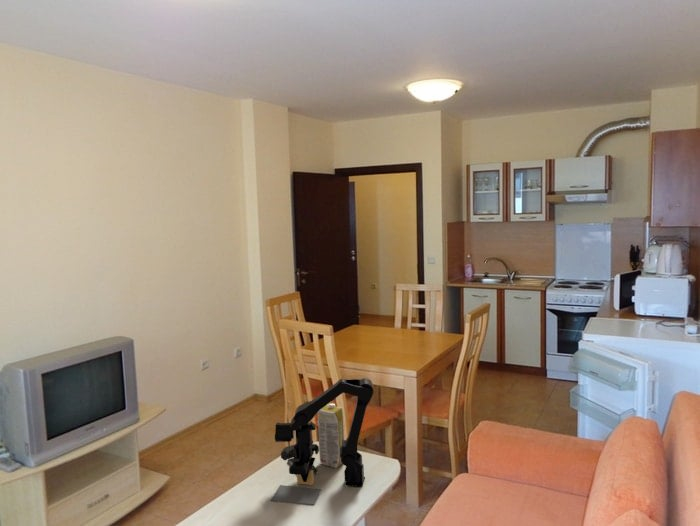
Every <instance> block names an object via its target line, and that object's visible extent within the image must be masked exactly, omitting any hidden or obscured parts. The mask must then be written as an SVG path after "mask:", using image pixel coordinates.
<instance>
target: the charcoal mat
mask: <svg viewBox="0 0 700 526" xmlns="http://www.w3.org/2000/svg"><path fill="white" fill-rule="evenodd" d="M321 492H322V488H319V487H307V486H306V487H305V486H296V485H295V486H294V485H284V484H280V485H279V486H278V488H277V489H276V491H275V492H274V494H273V496H272V497H271V499H270V502H275V503H289V504H295V505H297V504H298V505H306V506H307V505H310V506H315V504H316V502H317V500H318V499H319V496H320V494H321Z"/></svg>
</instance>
